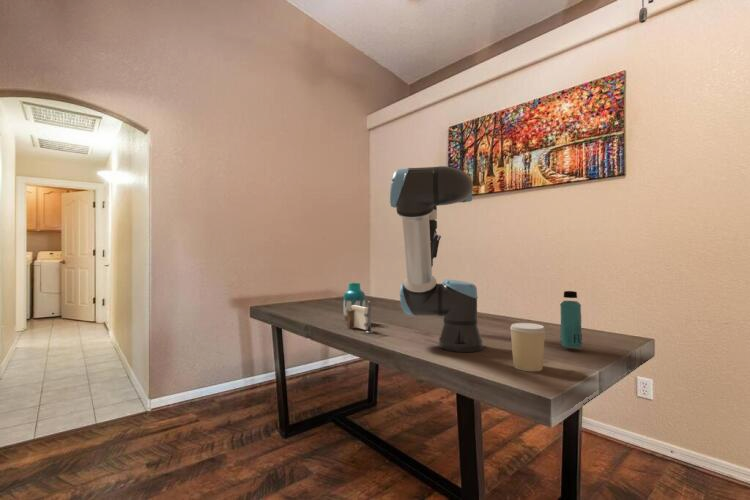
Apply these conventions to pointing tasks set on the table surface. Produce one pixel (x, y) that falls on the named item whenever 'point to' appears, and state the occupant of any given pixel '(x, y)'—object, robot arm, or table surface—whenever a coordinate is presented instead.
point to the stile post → (350, 319)
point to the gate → (360, 317)
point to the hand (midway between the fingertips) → (428, 274)
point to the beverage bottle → (571, 322)
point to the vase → (353, 298)
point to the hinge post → (369, 318)
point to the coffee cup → (527, 346)
